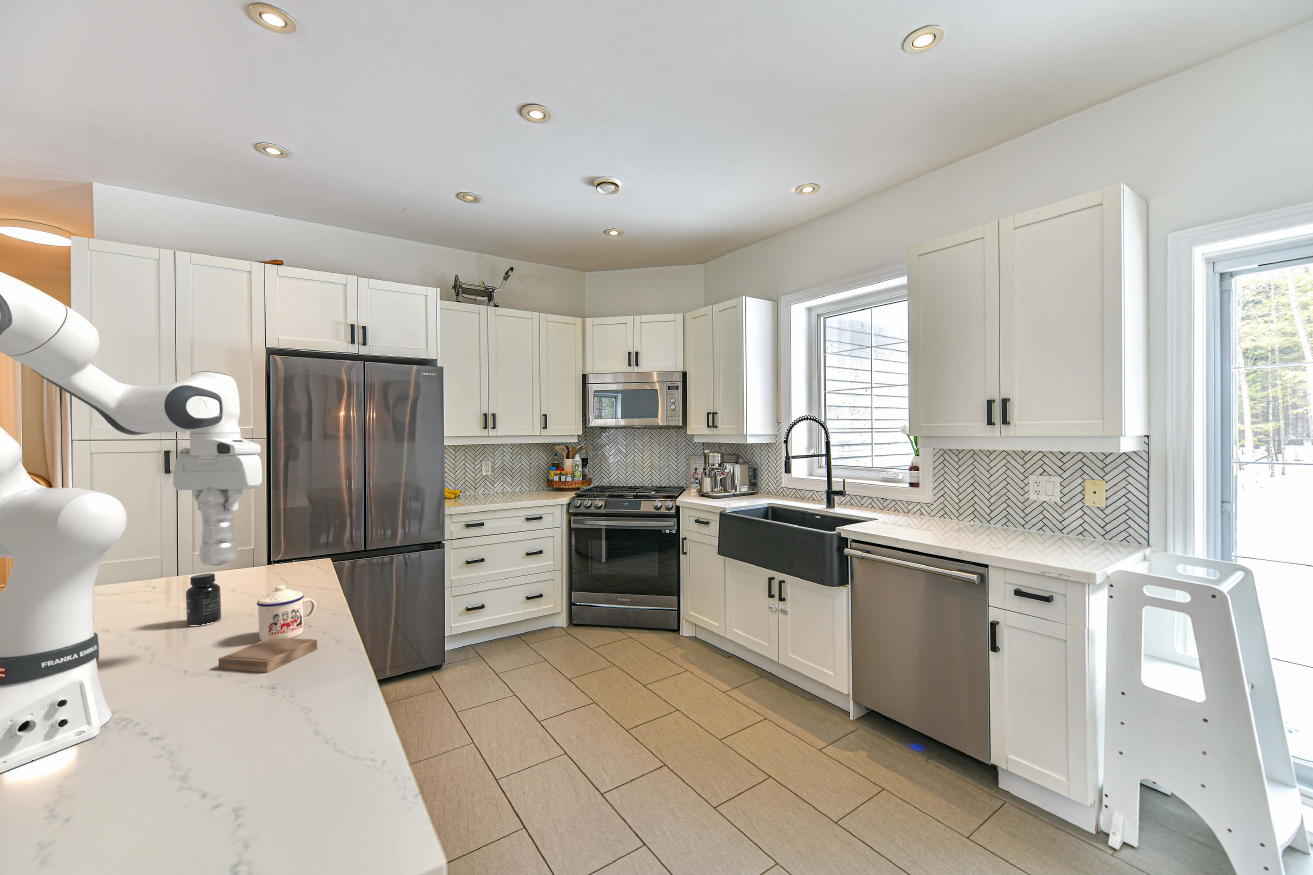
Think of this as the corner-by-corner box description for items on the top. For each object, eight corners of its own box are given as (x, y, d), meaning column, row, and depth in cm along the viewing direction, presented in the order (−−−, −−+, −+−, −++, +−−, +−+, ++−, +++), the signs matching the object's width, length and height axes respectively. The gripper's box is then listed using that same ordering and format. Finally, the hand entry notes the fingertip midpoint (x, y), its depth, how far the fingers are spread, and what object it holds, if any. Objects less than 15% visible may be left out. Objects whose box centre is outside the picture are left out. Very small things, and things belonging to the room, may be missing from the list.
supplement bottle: (182, 624, 142) (180, 576, 142) (215, 616, 148) (213, 570, 148) (192, 628, 138) (190, 580, 138) (225, 620, 144) (224, 573, 144)
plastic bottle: (245, 561, 125) (244, 472, 126) (217, 568, 119) (217, 473, 119) (219, 561, 126) (218, 472, 127) (190, 568, 119) (190, 474, 120)
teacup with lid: (267, 645, 125) (265, 593, 125) (251, 637, 130) (249, 587, 130) (324, 629, 135) (323, 581, 134) (308, 622, 140) (306, 576, 140)
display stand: (267, 672, 110) (267, 661, 110) (218, 668, 113) (218, 657, 113) (317, 648, 122) (316, 639, 122) (272, 645, 125) (271, 636, 125)
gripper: (163, 448, 122) (165, 512, 122) (240, 446, 117) (242, 512, 117) (192, 447, 128) (194, 508, 128) (267, 445, 123) (268, 508, 123)
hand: (217, 510), depth 123 cm, fingers closed on plastic bottle, 6 cm apart
